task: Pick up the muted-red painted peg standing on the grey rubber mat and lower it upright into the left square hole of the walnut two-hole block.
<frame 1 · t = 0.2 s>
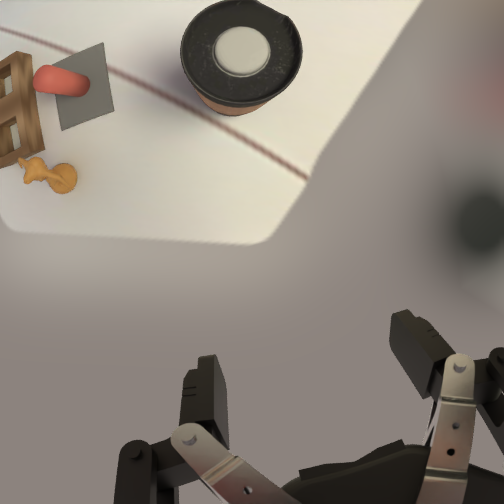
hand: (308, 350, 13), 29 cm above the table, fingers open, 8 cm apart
figurine: (72, 168, 36), on the table
travel mug: (232, 88, 34), on the table
mat: (81, 86, 31), on the table
hole block: (18, 109, 31), on the table
peg: (80, 86, 31), resting on mat
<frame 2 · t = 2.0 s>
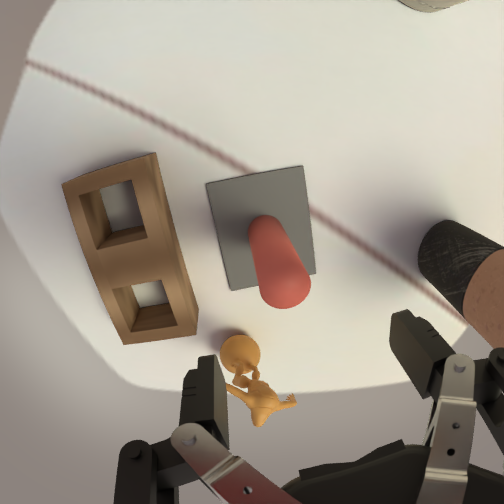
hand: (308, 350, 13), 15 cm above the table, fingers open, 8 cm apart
figurine: (243, 333, 31), on the table
travel mug: (441, 250, 30), on the table
mat: (264, 230, 27), on the table
hole block: (140, 245, 26), on the table
peg: (265, 231, 27), resting on mat
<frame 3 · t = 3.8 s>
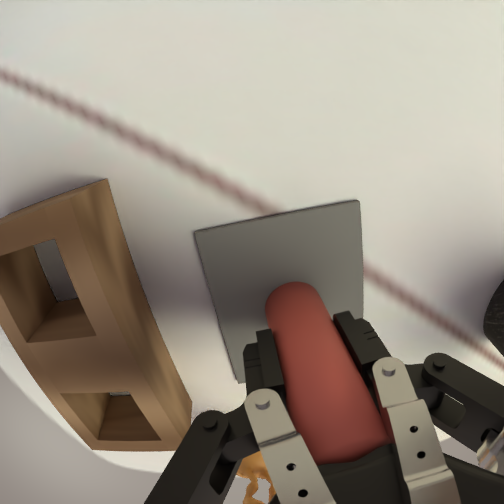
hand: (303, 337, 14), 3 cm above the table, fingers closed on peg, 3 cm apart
figurine: (254, 424, 21), on the table
mat: (292, 303, 17), on the table
hole block: (98, 322, 16), on the table
peg: (293, 306, 16), resting on mat, touching gripper
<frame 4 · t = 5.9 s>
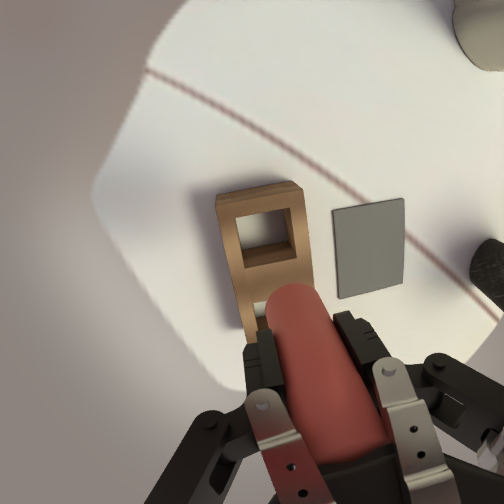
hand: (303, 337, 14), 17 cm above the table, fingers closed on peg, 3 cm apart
travel mug: (485, 261, 34), on the table
mat: (371, 249, 31), on the table
hole block: (267, 262, 31), on the table
peg: (293, 307, 16), point 14 cm above the table, touching gripper
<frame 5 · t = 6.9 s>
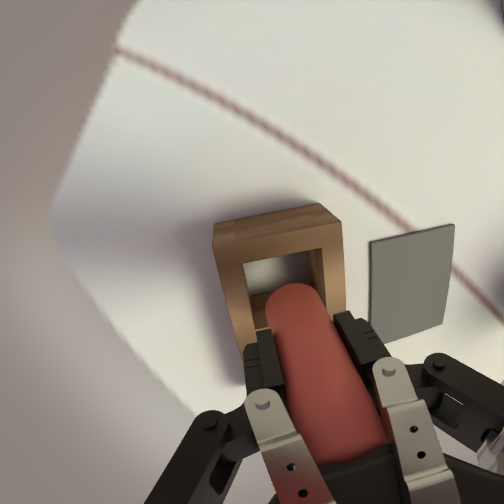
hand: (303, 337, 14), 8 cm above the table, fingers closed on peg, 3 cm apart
mat: (412, 288, 23), on the table
hole block: (283, 309, 23), on the table
peg: (293, 307, 16), point 6 cm above the table, touching gripper
when the fingers open (5 cm above the table, at t = 7.9 s): peg drops 2 cm, resting in hole block.
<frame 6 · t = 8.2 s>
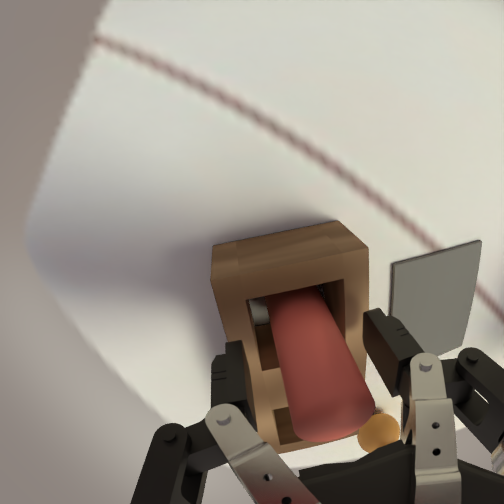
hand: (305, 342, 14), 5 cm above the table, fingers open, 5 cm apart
figurine: (377, 410, 25), on the table
mat: (434, 311, 20), on the table
hole block: (293, 340, 20), on the table
peg: (289, 288, 18), resting in hole block
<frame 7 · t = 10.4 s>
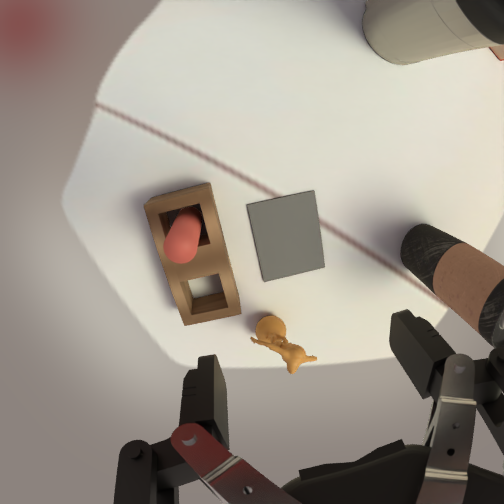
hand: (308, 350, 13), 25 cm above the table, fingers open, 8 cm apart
figurine: (271, 315, 42), on the table
travel mug: (419, 247, 40), on the table
mat: (288, 237, 38), on the table
hole block: (196, 250, 37), on the table
cracker box: (496, 26, 28), on the table
peg: (189, 219, 36), resting in hole block
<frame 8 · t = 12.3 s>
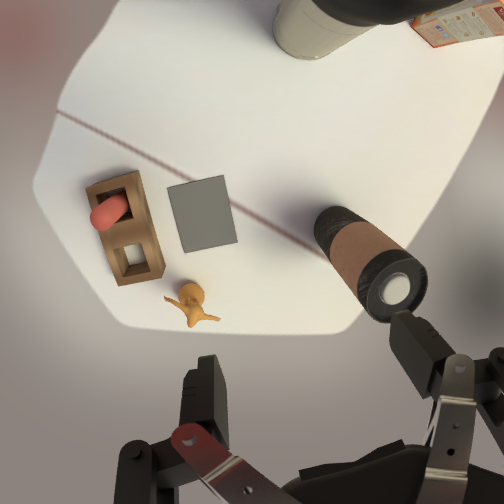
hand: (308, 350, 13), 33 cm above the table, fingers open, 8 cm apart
figurine: (195, 284, 48), on the table
travel mug: (335, 227, 47), on the table
mat: (203, 215, 44), on the table
hole block: (130, 225, 44), on the table
cracker box: (434, 14, 33), on the table
peg: (124, 199, 42), resting in hole block
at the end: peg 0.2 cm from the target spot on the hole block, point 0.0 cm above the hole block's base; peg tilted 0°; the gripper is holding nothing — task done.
